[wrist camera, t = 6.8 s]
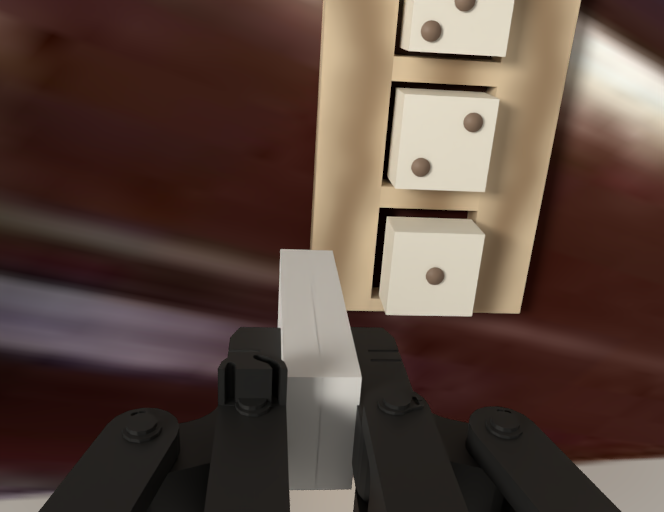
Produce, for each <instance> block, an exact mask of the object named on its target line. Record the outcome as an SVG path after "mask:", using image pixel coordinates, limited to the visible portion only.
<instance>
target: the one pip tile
mask: <svg viewBox="0 0 664 512" xmlns="http://www.w3.org/2000/svg"><path fill="white" fill-rule="evenodd" d="M484 239H485V234H484V233H483V232H482V231H481V229H480V228H479V227H478V226H477V225H476V224H475V223H474V222H473V220H472V219H448V218H418V217H388V216H387V219H386V229H385V239H384V249H383V259H382V269H381V279H380V289H379V297H380V300H381V302H382V305H383V308H384V311H385V314H386V315H420V316H472V312H473V306H474V300H475V294H476V288H477V281H478V275H479V269H480V263H481V257H482V251H483V245H484Z"/></svg>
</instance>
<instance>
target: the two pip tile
mask: <svg viewBox="0 0 664 512" xmlns="http://www.w3.org/2000/svg"><path fill="white" fill-rule="evenodd" d="M499 100H500V99H498V98H496V97H494V96H492V95H489V94H487V93H485V92H471V91H453V90H434V89H416V88H397V87H396V91H395V101H394V111H393V121H392V131H391V142H390V152H389V162H388V172H387V177H388V178H389V180H390V182H391V183H392V185H393V186H394V188H395V189H417V190H443V191H470V192H485V188H486V182H487V175H488V169H489V163H490V157H491V150H492V144H493V138H494V132H495V125H496V119H497V113H498V107H499Z"/></svg>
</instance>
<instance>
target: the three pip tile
mask: <svg viewBox="0 0 664 512" xmlns="http://www.w3.org/2000/svg"><path fill="white" fill-rule="evenodd" d="M513 6H514V0H404V4H403V14H402V24H401V35H400V45H399V47H400V48H402V49H405V50H407V51H417V52H433V53H450V54H466V55H483V56H499V57H505V56H506V50H507V44H508V38H509V31H510V25H511V19H512V12H513Z"/></svg>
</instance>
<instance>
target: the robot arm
mask: <svg viewBox="0 0 664 512" xmlns="http://www.w3.org/2000/svg"><path fill="white" fill-rule="evenodd" d="M353 474H354V480H355V486H356V490H355V500H354V510H353V512H621V511H620V510H619V509H618V508H617V507H616V506H615V505H614V504H613V503H612V502H611V501H610V500H609V499H608V498H607V497H606V496H605V495H604V494H603V493H602V492H601V491H600V490H599V488H598V487H596V486H595V484H594V483H593V482H592V481H591V480H590V479H589V478H588V477H587V476H586V475H585V474H584V473H583V472H582V471H581V470H580V469H579V468H578V467H577V466H576V465H575V464H574V463H573V462H572V461H571V460H570V459H569V458H568V457H567V456H566V455H565V454H564V453H563V452H562V451H561V450H560V449H559V448H558V447H557V446H556V445H555V444H554V443H553V442H552V441H551V440H550V439H549V438H548V437H547V436H546V435H545V434H544V433H543V432H542V431H541V430H540V429H539V428H538V427H537V426H536V425H535V423H534V422H532V421H531V420H530V419H528V418H527V417H526V416H524V415H523V414H521V413H519V412H516V411H514V410H512V409H508V408H503V407H484V408H481V409H478V410H476V411H475V412H474V413H473V414H472V415H471V416H470V420H469V423H465V422H460V421H455V420H450V419H447V418H443V417H440V416H438V415H435V414H433V413H431V410H430V407H429V405H428V404H427V402H426V401H425V399H424V398H423V397H422V396H420V395H419V394H417V393H416V392H414V391H413V390H412V387H411V384H410V382H409V379H408V376H407V373H406V370H405V367H404V365H403V362H402V359H401V356H400V353H399V352H398V348H397V345H396V342H395V339H394V338H393V337H392V336H391V335H390V334H389V333H388V332H387V331H385V330H384V329H383V328H363V327H350V324H349V320H348V315H347V311H346V307H345V302H344V298H343V294H342V289H341V285H340V281H339V276H338V272H337V268H336V263H335V259H334V255H333V251H329V250H292V249H280V276H279V306H278V328H259V327H240V328H239V329H238V330H237V331H236V332H235V333H234V334H233V335H232V336H231V337H230V343H229V352H228V358H226V359H225V360H223V361H222V362H221V364H220V366H219V368H218V407H217V408H216V409H215V410H214V411H213V412H211V413H210V414H208V415H206V416H204V417H202V418H200V419H197V420H193V421H190V422H185V423H180V424H178V421H177V419H176V417H174V416H173V415H172V414H171V413H169V412H167V411H164V410H161V409H157V408H140V409H135V410H130V411H127V412H125V413H123V414H121V415H119V416H117V417H115V418H114V419H113V420H112V421H111V422H110V423H108V424H107V426H106V427H105V428H104V429H103V431H102V432H101V433H100V434H99V436H98V437H97V438H96V440H95V441H94V442H93V443H92V445H91V446H90V447H89V448H88V450H87V451H86V452H85V453H84V455H83V456H82V457H81V459H80V460H79V461H78V462H77V464H76V465H75V466H74V467H73V469H72V470H71V471H70V472H69V474H68V475H67V476H66V478H65V479H64V480H63V481H62V483H61V484H60V485H59V486H58V488H57V489H56V490H55V491H54V493H53V494H52V495H51V497H50V498H49V499H48V500H47V502H46V503H45V504H44V506H43V507H42V508H41V509H40V511H39V512H290V502H289V501H290V500H289V490H335V489H351V488H352V477H353Z"/></svg>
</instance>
